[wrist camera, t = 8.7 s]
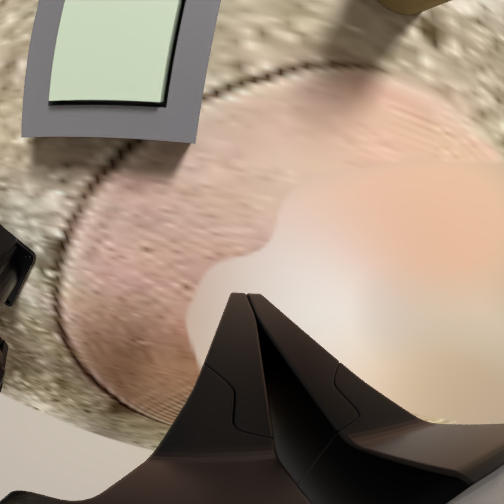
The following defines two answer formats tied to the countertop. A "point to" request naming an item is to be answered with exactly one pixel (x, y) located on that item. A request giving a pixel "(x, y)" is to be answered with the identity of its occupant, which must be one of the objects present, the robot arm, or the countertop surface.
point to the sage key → (115, 50)
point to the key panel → (120, 111)
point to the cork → (411, 5)
